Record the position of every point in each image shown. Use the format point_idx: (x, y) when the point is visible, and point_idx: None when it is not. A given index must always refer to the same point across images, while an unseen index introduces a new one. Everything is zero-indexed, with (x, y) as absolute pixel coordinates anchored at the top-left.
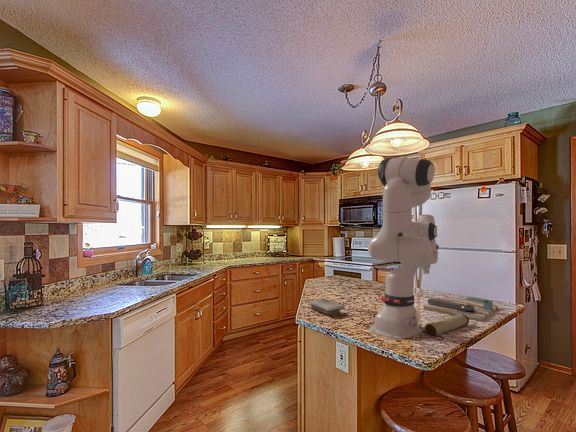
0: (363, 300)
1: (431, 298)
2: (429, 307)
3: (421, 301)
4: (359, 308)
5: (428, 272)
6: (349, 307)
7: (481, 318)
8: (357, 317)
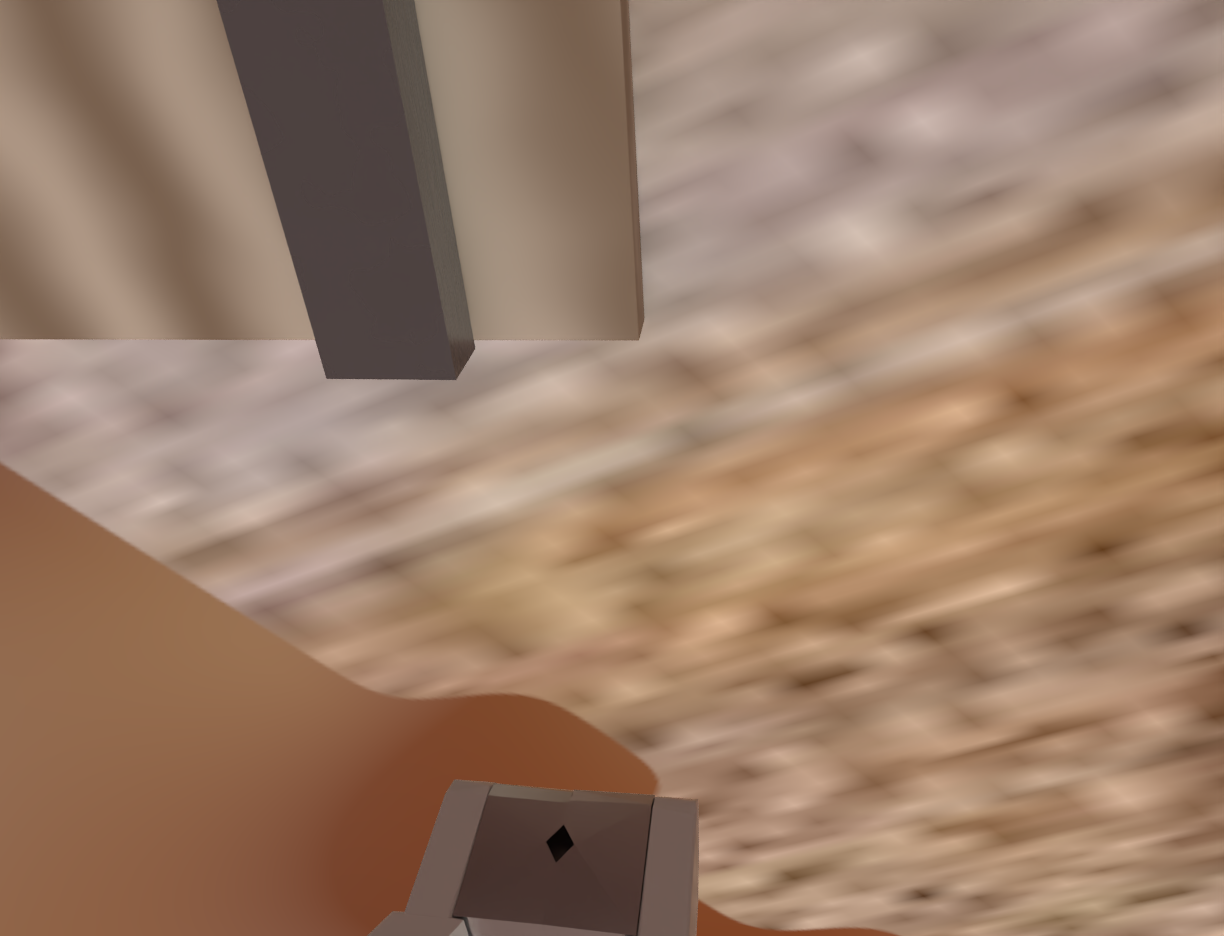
0: (808, 881)
1: (331, 364)
2: (629, 253)
3: (289, 489)
4: (1171, 826)
5: (521, 825)
6: (1192, 890)
7: None
8: None
